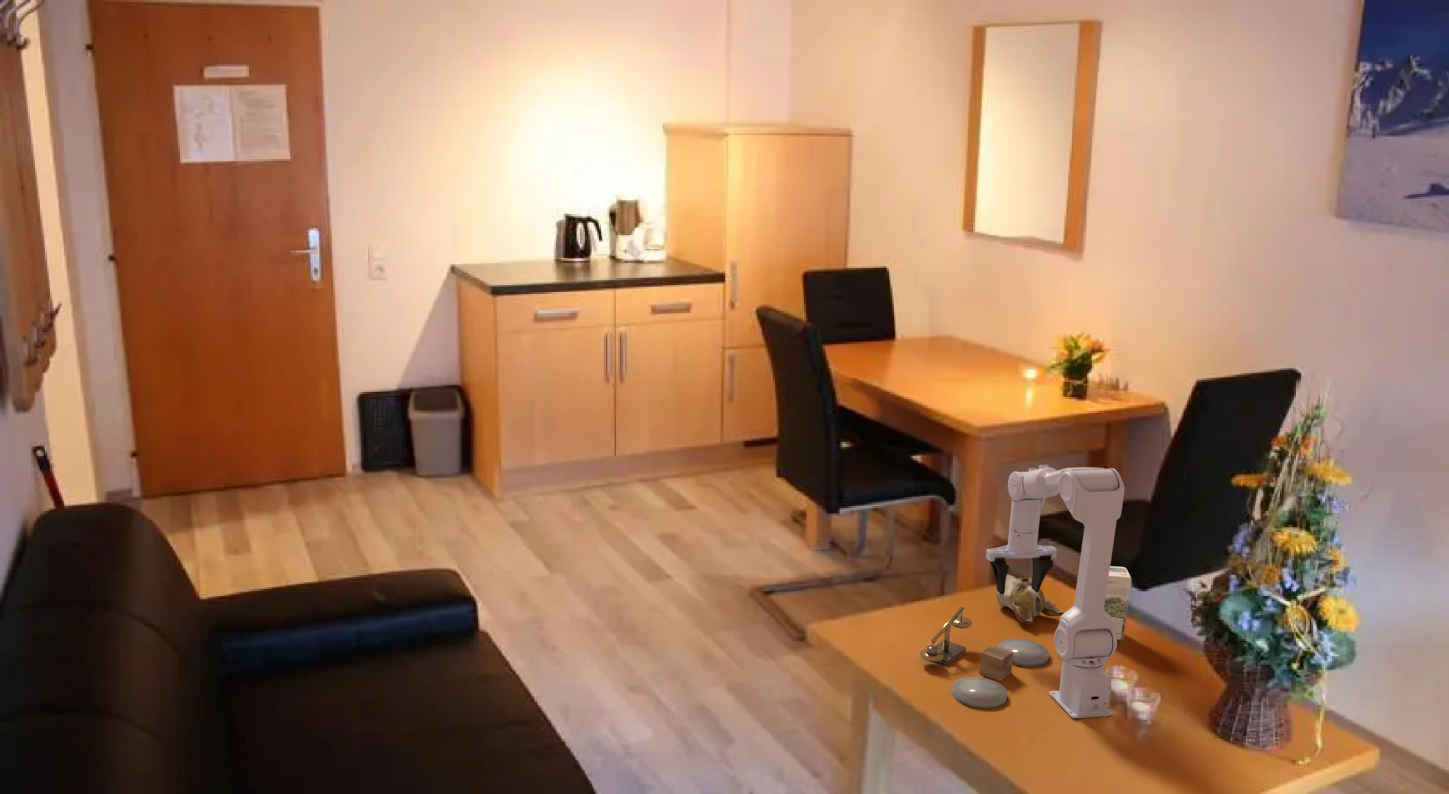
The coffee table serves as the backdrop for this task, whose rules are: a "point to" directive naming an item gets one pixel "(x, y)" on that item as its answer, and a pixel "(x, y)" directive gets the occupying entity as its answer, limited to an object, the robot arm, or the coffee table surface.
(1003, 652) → the walnut block
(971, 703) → the left dish
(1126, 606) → the syrup box
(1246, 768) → the coffee table surface
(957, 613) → the bronze balance
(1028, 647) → the right dish
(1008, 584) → the ceramic sculpture
